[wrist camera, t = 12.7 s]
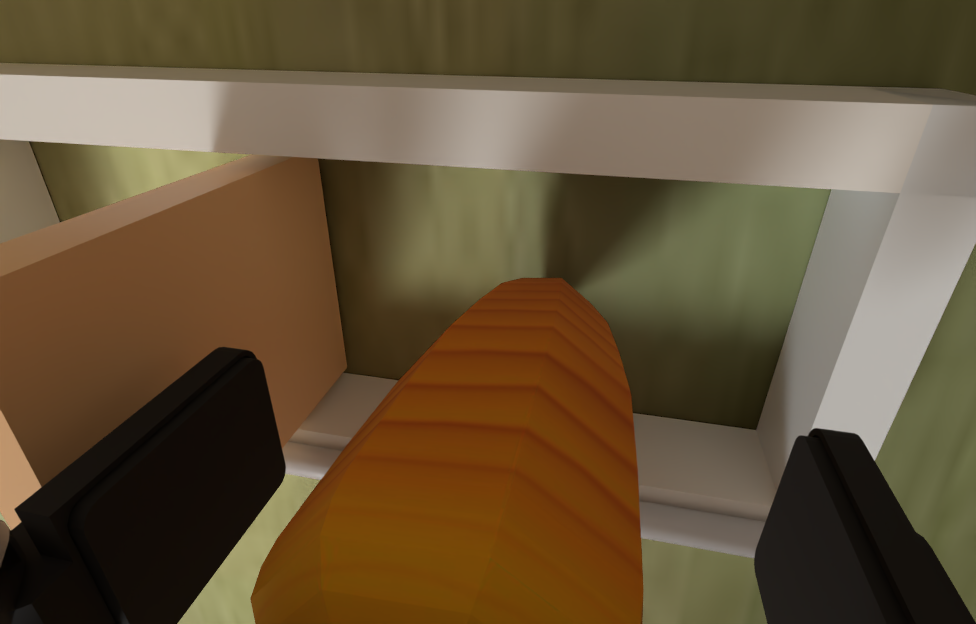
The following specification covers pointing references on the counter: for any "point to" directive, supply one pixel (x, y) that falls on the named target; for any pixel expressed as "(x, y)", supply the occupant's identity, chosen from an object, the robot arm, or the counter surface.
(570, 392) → the carrot
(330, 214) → the counter surface
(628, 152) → the frame
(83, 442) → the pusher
